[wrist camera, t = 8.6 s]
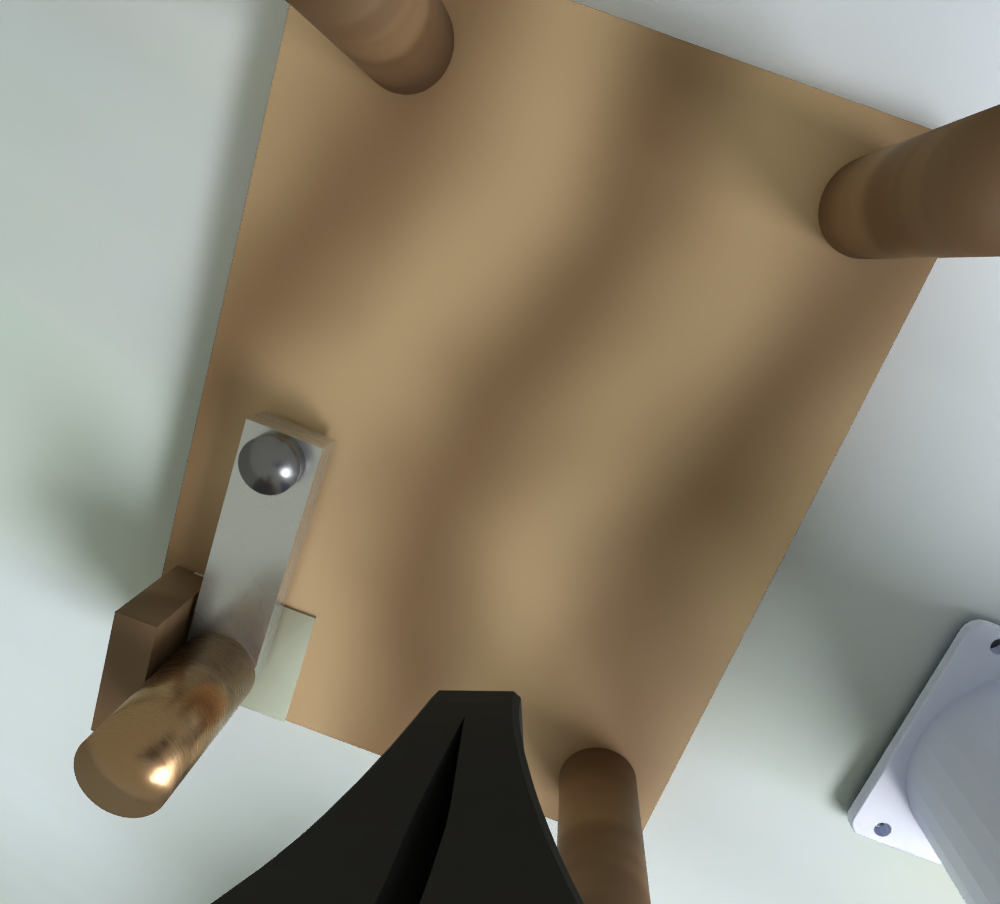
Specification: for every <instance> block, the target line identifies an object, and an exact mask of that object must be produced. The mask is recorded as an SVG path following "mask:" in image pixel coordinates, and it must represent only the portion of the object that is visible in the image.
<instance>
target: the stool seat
mask: <svg viewBox="0 0 1000 904" xmlns="http://www.w3.org/2000/svg"><path fill="white" fill-rule="evenodd" d="M286 1H287V2H288V3H289V4H290V5H289V10H288V14H287V19H286V23H285V27H284V32H283V36H282V41H281V45H280V50H279V54H278V59H277V63H276V68H275V72H274V77H273V81H272V86H271V90H270V95H269V99H268V104H267V108H266V112H265V117H264V121H263V126H262V130H261V135H260V139H259V144H258V148H257V153H256V157H255V162H254V166H253V171H252V175H251V180H250V184H249V188H248V193H247V197H246V202H245V206H244V211H243V215H242V220H241V224H240V229H239V233H238V238H237V242H236V247H235V251H234V256H233V260H232V264H231V269H230V273H229V278H228V282H227V287H226V291H225V296H224V300H223V305H222V309H221V314H220V318H219V323H218V327H217V332H216V336H215V340H214V345H213V349H212V354H211V358H210V363H209V367H208V372H207V376H206V381H205V385H204V390H203V394H202V399H201V403H200V408H199V412H198V417H197V421H196V425H195V430H194V434H193V439H192V443H191V448H190V452H189V457H188V461H187V466H186V470H185V475H184V479H183V484H182V488H181V493H180V497H179V501H178V506H177V510H176V515H175V519H174V524H173V528H172V533H171V537H170V542H169V546H168V551H167V555H166V560H165V564H164V569H163V573H162V577H161V578H160V579H158V580H157V581H156V582H154V583H153V584H152V585H150V586H149V587H148V588H146V589H145V590H144V591H142V592H141V593H140V594H138V595H137V596H136V597H134V598H133V599H132V600H130V601H129V602H128V603H126V604H125V605H124V606H122V607H121V608H120V609H118V610H117V611H116V612H115V615H114V620H113V625H112V630H111V635H110V640H109V645H108V649H107V654H106V659H105V664H104V669H103V674H102V679H101V684H100V688H99V693H98V698H97V703H96V708H95V713H94V718H93V723H92V727H91V730H92V731H95V730H96V729H97V728H98V727H99V726H100V725H101V724H102V723H103V722H104V721H105V720H106V719H108V718H109V717H110V716H111V715H112V714H113V713H114V712H115V711H116V710H117V709H118V708H119V707H120V706H121V705H122V704H123V703H124V702H125V701H126V700H127V699H128V698H129V697H130V696H131V695H132V694H133V693H134V692H135V691H137V690H138V689H139V688H140V687H141V686H142V685H143V684H144V683H145V682H146V681H147V680H148V679H149V678H150V677H151V676H152V675H153V674H154V673H155V672H156V671H157V670H158V669H159V668H160V667H161V666H162V665H163V664H164V663H166V662H167V661H168V660H169V659H170V658H171V657H172V656H173V655H174V654H175V653H176V652H177V651H178V650H179V649H180V648H181V647H182V646H183V645H184V644H185V643H186V641H187V637H188V633H189V630H190V626H191V622H192V619H193V615H194V611H195V607H196V604H197V600H198V596H199V592H200V589H201V585H202V581H203V578H204V574H205V570H206V566H207V563H208V559H209V555H210V552H211V548H212V544H213V540H214V537H215V533H216V529H217V525H218V522H219V518H220V514H221V511H222V507H223V503H224V499H225V496H226V492H227V488H228V484H229V481H230V477H231V473H232V470H233V466H234V462H235V458H236V455H237V451H238V447H239V443H240V440H241V436H242V432H243V429H244V425H245V421H246V419H247V418H249V417H251V416H253V415H255V414H257V413H259V412H262V411H264V412H266V413H269V414H271V415H274V416H276V417H279V418H281V419H284V420H287V421H289V422H292V423H294V424H297V425H299V426H302V427H305V428H307V429H310V430H312V431H315V432H317V433H320V434H323V435H325V436H328V437H330V438H333V439H335V442H334V445H333V448H332V452H331V455H330V458H329V461H328V464H327V468H326V471H325V474H324V477H323V480H322V484H321V487H320V490H319V493H318V497H317V500H316V503H315V506H314V509H313V513H312V516H311V519H310V522H309V525H308V529H307V532H306V535H305V538H304V542H303V545H302V548H301V551H300V554H299V558H298V561H297V564H296V567H295V570H294V574H293V577H292V580H291V583H290V587H289V590H288V593H287V596H286V599H285V603H284V606H283V609H282V612H281V616H280V619H279V622H278V625H277V628H276V632H275V635H274V638H273V641H272V644H271V648H270V651H269V654H268V657H267V661H266V664H265V667H264V670H263V671H262V672H261V673H260V675H259V676H258V677H257V679H256V680H255V682H254V685H253V688H252V689H251V691H250V693H249V694H248V695H247V696H246V698H245V699H244V700H243V702H242V703H241V704H240V706H243V707H245V708H248V709H251V710H254V711H256V712H259V713H262V714H264V715H267V716H270V717H272V718H275V719H278V720H280V721H283V722H284V721H285V720H287V721H290V722H292V723H295V724H298V725H300V726H303V727H306V728H308V729H311V730H314V731H316V732H319V733H322V734H324V735H327V736H330V737H332V738H335V739H338V740H340V741H343V742H346V743H349V744H351V745H354V746H357V747H359V748H362V749H365V750H367V751H370V752H373V753H375V754H378V755H381V756H382V755H383V754H384V752H385V751H386V750H387V749H388V748H389V747H390V746H391V745H392V744H393V743H394V741H395V740H396V739H397V738H398V737H399V736H400V734H401V733H402V732H403V731H404V730H405V729H406V727H407V726H408V725H409V724H410V723H411V722H412V720H413V719H414V718H415V717H416V716H417V714H418V713H419V712H420V711H421V710H422V708H423V707H424V706H425V705H426V704H427V702H428V701H429V700H430V699H431V698H432V696H433V695H435V694H436V693H437V692H438V691H439V690H464V691H514V692H515V693H516V694H517V695H518V696H520V697H521V705H522V723H523V741H524V751H525V755H526V759H527V763H528V767H529V770H530V774H531V777H532V781H533V784H534V788H535V791H536V794H537V797H538V800H539V803H540V805H541V808H542V811H543V814H544V816H545V817H547V818H550V819H552V820H555V821H558V835H557V849H558V851H559V853H560V856H561V858H562V860H563V862H564V864H565V866H566V868H567V870H568V873H569V875H570V877H571V879H572V881H573V883H574V885H575V887H576V889H577V891H578V893H579V895H580V897H581V899H582V901H583V902H584V904H651V903H650V894H649V886H648V877H647V868H646V860H645V851H644V842H643V834H642V831H643V830H644V828H645V826H646V824H647V822H648V820H649V818H650V816H651V814H652V812H653V810H654V808H655V806H656V804H657V802H658V800H659V798H660V796H661V794H662V793H663V791H664V789H665V787H666V785H667V783H668V781H669V779H670V777H671V775H672V773H673V771H674V769H675V767H676V765H677V763H678V761H679V759H680V758H681V756H682V754H683V752H684V750H685V748H686V746H687V744H688V742H689V740H690V738H691V736H692V734H693V732H694V730H695V728H696V726H697V724H698V722H699V721H700V719H701V717H702V715H703V713H704V711H705V709H706V707H707V705H708V703H709V701H710V699H711V697H712V695H713V693H714V691H715V689H716V687H717V685H718V684H719V682H720V680H721V678H722V676H723V674H724V672H725V670H726V668H727V666H728V664H729V662H730V660H731V658H732V656H733V654H734V652H735V650H736V649H737V647H738V645H739V643H740V641H741V639H742V637H743V635H744V633H745V631H746V629H747V627H748V625H749V623H750V621H751V619H752V617H753V615H754V613H755V612H756V610H757V608H758V606H759V604H760V602H761V600H762V598H763V596H764V594H765V592H766V590H767V588H768V586H769V584H770V582H771V580H772V578H773V576H774V575H775V573H776V571H777V569H778V567H779V565H780V563H781V561H782V559H783V557H784V555H785V553H786V551H787V549H788V547H789V545H790V543H791V541H792V540H793V538H794V536H795V534H796V532H797V530H798V528H799V526H800V524H801V522H802V520H803V518H804V516H805V514H806V512H807V510H808V508H809V506H810V504H811V503H812V501H813V499H814V497H815V495H816V493H817V491H818V489H819V487H820V485H821V483H822V481H823V479H824V477H825V475H826V473H827V471H828V469H829V467H830V466H831V464H832V462H833V460H834V458H835V456H836V454H837V452H838V450H839V448H840V446H841V444H842V442H843V440H844V438H845V436H846V434H847V432H848V431H849V429H850V427H851V425H852V423H853V421H854V419H855V417H856V415H857V413H858V411H859V409H860V407H861V405H862V403H863V401H864V399H865V397H866V395H867V394H868V392H869V390H870V388H871V386H872V384H873V382H874V380H875V378H876V376H877V374H878V372H879V370H880V368H881V366H882V364H883V362H884V360H885V358H886V357H887V355H888V353H889V351H890V349H891V347H892V345H893V343H894V341H895V339H896V337H897V335H898V333H899V331H900V329H901V327H902V325H903V323H904V322H905V320H906V318H907V316H908V314H909V312H910V310H911V308H912V306H913V304H914V302H915V300H916V298H917V296H918V294H919V292H920V290H921V288H922V286H923V285H924V283H925V281H926V279H927V277H928V275H929V273H930V271H931V269H932V267H933V265H934V263H935V261H936V259H937V258H947V257H995V256H1000V105H997V106H994V107H992V108H989V109H986V110H984V111H981V112H978V113H976V114H973V115H971V116H968V117H965V118H963V119H960V120H957V121H955V122H952V123H950V124H947V125H944V126H942V127H939V128H936V129H934V130H931V129H928V128H926V127H923V126H920V125H917V124H915V123H912V122H909V121H906V120H903V119H901V118H898V117H895V116H892V115H889V114H887V113H884V112H881V111H878V110H875V109H873V108H870V107H867V106H864V105H861V104H859V103H856V102H853V101H850V100H847V99H845V98H842V97H839V96H836V95H834V94H831V93H828V92H825V91H822V90H820V89H817V88H814V87H811V86H808V85H806V84H803V83H800V82H797V81H794V80H792V79H789V78H786V77H783V76H780V75H778V74H775V73H772V72H769V71H766V70H764V69H761V68H758V67H755V66H753V65H750V64H747V63H744V62H741V61H739V60H736V59H733V58H730V57H727V56H725V55H722V54H719V53H716V52H713V51H711V50H708V49H705V48H702V47H699V46H697V45H694V44H691V43H688V42H685V41H683V40H680V39H677V38H674V37H671V36H669V35H666V34H663V33H660V32H658V31H655V30H652V29H649V28H646V27H644V26H641V25H638V24H635V23H632V22H630V21H627V20H624V19H621V18H618V17H616V16H613V15H610V14H607V13H604V12H602V11H599V10H596V9H593V8H590V7H588V6H585V5H582V4H579V3H577V2H574V1H571V0H286Z"/></svg>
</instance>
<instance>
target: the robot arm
mask: <svg viewBox="0 0 1000 904" xmlns="http://www.w3.org/2000/svg"><path fill="white" fill-rule="evenodd" d="M997 639H1000V625H997V624H994V623H991V622H989V621H986V620H980V619H977V620H972V621H970V622H968V623H966V624H965V625H964V626H963V627H962V628H961V629H960V631H959V632H958V634H957V636H956V637H955V639H954V640H953V642H952V644H951V645H950V647H949V649H948V650H947V652H946V653H945V655H944V657H943V658H942V660H941V661H940V663H939V665H938V666H937V668H936V670H935V671H934V673H933V674H932V676H931V678H930V679H929V681H928V683H927V684H926V686H925V687H924V689H923V691H922V692H921V694H920V695H919V697H918V699H917V700H916V702H915V704H914V705H913V707H912V708H911V710H910V712H909V713H908V715H907V717H906V718H905V720H904V721H903V723H902V725H901V726H900V728H899V729H898V731H897V733H896V734H895V736H894V738H893V739H892V741H891V742H890V744H889V746H888V747H887V749H886V750H885V752H884V754H883V755H882V757H881V759H880V760H879V762H878V763H877V765H876V767H875V768H874V770H873V772H872V773H871V775H870V776H869V778H868V780H867V781H866V783H865V784H864V786H863V788H862V789H861V791H860V793H859V794H858V796H857V797H856V799H855V801H854V802H853V804H852V806H851V807H850V809H849V811H848V813H847V819H848V822H849V824H850V826H851V828H852V829H853V830H854V832H856V833H858V834H859V835H862V836H864V837H867V838H870V839H872V840H875V841H878V842H881V843H883V844H886V845H889V846H891V847H894V848H897V849H899V850H902V851H905V852H908V853H910V854H913V855H916V856H918V857H921V858H924V859H926V860H929V861H932V862H934V863H937V864H940V865H943V866H944V868H945V870H946V871H947V873H948V875H949V876H950V878H951V880H952V881H953V883H954V884H955V886H956V888H957V889H958V891H959V893H960V894H961V896H962V898H963V899H964V901H965V902H966V904H1000V644H999V645H998V646H997V647H994V648H990V646H991V643H993V642H994V641H995V640H997ZM879 823H885V824H884V825H882V826H879V827H875V826H876V825H877V824H879ZM211 904H584V902H583V901H582V899H581V897H580V895H579V893H578V891H577V889H576V887H575V885H574V883H573V881H572V879H571V877H570V875H569V873H568V870H567V868H566V866H565V864H564V862H563V860H562V858H561V856H560V853H559V851H558V849H557V846H556V844H555V842H554V839H553V837H552V834H551V832H550V829H549V827H548V824H547V822H546V819H545V816H544V814H543V811H542V808H541V805H540V803H539V800H538V797H537V794H536V791H535V788H534V784H533V781H532V777H531V774H530V770H529V767H528V763H527V759H526V755H525V751H524V741H523V723H522V705H521V697H520V696H518V695H517V694H516V693H515V692H514V691H464V690H439V691H438V692H437V693H436V694H435V695H433V696H432V698H431V699H430V700H429V701H428V702H427V704H426V705H425V706H424V707H423V708H422V710H421V711H420V712H419V713H418V714H417V716H416V717H415V718H414V719H413V720H412V722H411V723H410V724H409V725H408V726H407V727H406V729H405V730H404V731H403V732H402V733H401V734H400V736H399V737H398V738H397V739H396V740H395V741H394V743H393V744H392V745H391V746H390V747H389V748H388V749H387V750H386V751H385V752H384V754H383V755H382V756H381V757H380V758H379V759H378V760H377V761H376V762H375V763H374V765H373V766H372V767H371V768H370V769H369V770H368V771H367V772H366V773H365V774H364V775H363V776H362V778H361V779H360V780H359V781H358V782H357V783H356V784H355V785H354V786H353V787H352V788H351V789H350V790H349V791H348V792H347V793H345V794H344V795H343V796H342V797H341V798H340V799H339V800H338V801H337V802H336V803H335V804H334V805H333V806H332V807H331V808H330V809H329V810H328V811H327V812H326V813H325V814H324V815H323V816H322V817H321V818H320V819H319V820H318V821H317V822H315V823H314V824H313V825H312V826H311V827H310V828H309V829H308V830H307V831H306V832H304V833H303V834H302V835H301V836H300V837H299V838H297V839H296V840H295V841H294V842H293V843H291V844H290V845H289V846H288V847H286V848H285V849H284V850H283V851H282V852H280V853H279V854H278V855H277V856H276V857H274V858H273V859H272V860H271V861H269V862H268V863H267V864H265V865H264V866H263V867H262V868H260V869H259V870H257V871H256V872H255V873H253V874H252V875H250V876H249V877H248V878H246V879H245V880H243V881H242V882H241V883H239V884H238V885H236V886H235V887H234V888H232V889H231V890H229V891H228V892H227V893H225V894H224V895H223V896H221V897H220V898H218V899H217V900H216V901H214V902H213V903H211Z"/></svg>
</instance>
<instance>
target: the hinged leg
mask: <svg viewBox="0 0 1000 904" xmlns="http://www.w3.org/2000/svg"><path fill="white" fill-rule="evenodd" d="M334 442H335V439H333V438H330V437H328V436H325V435H323V434H320V433H317V432H315V431H312V430H310V429H307V428H305V427H302V426H299V425H297V424H294V423H292V422H289V421H287V420H284V419H281V418H279V417H276V416H274V415H271V414H269V413H266V412H264V411H262V412H259V413H257V414H255V415H253V416H251V417H249V418H247V419H246V421H245V425H244V429H243V432H242V436H241V440H240V443H239V447H238V451H237V455H236V458H235V462H234V466H233V470H232V473H231V477H230V481H229V484H228V488H227V492H226V496H225V499H224V503H223V507H222V511H221V514H220V518H219V522H218V525H217V529H216V533H215V537H214V540H213V544H212V548H211V552H210V555H209V559H208V563H207V566H206V570H205V574H204V578H203V581H202V585H201V589H200V592H199V596H198V600H197V604H196V607H195V611H194V615H193V619H192V622H191V626H190V630H189V633H188V637H187V641H186V643H185V644H184V645H183V646H182V647H181V648H180V649H179V650H178V651H177V652H176V653H175V654H174V655H173V656H172V657H171V658H170V659H169V660H168V661H167V662H166V663H164V664H163V665H162V666H161V667H160V668H159V669H158V670H157V671H156V672H155V673H154V674H153V675H152V676H151V677H150V678H149V679H148V680H147V681H146V682H145V683H144V684H143V685H142V686H141V687H140V688H139V689H138V690H137V691H135V692H134V693H133V694H132V695H131V696H130V697H129V698H128V699H127V700H126V701H125V702H124V703H123V704H122V705H121V706H120V707H119V708H118V709H117V710H116V711H115V712H114V713H113V714H112V715H111V716H110V717H109V718H108V719H106V720H105V721H104V722H103V723H102V724H101V725H100V726H99V727H98V728H97V729H96V730H95V731H94V732H93V733H92V734H91V735H90V736H89V737H88V738H87V739H86V740H85V741H84V742H83V743H82V744H81V745H80V746H79V748H78V750H77V752H76V754H75V758H74V772H75V776H76V779H77V781H78V784H79V786H80V787H81V789H82V790H83V792H84V793H85V794H86V796H87V797H88V798H89V799H90V800H91V801H92V802H93V803H95V804H96V805H97V806H99V807H100V808H102V809H103V810H105V811H107V812H109V813H112V814H114V815H117V816H121V817H127V818H139V817H145V816H148V815H151V814H153V813H154V812H156V811H158V810H159V809H160V808H161V807H162V806H163V805H164V803H165V802H166V801H167V800H168V798H169V797H170V796H171V794H172V793H173V792H174V790H175V789H176V788H177V787H178V785H179V784H180V783H181V781H182V780H183V779H184V777H185V776H186V775H187V773H188V772H189V771H190V770H191V768H192V767H193V766H194V764H195V763H196V762H197V760H198V759H199V758H200V756H201V755H202V754H203V753H204V751H205V750H206V749H207V747H208V746H209V745H210V743H211V742H212V741H213V740H214V738H215V737H216V736H217V734H218V733H219V732H220V730H221V729H222V728H223V726H224V725H225V724H226V723H227V721H228V720H229V719H230V717H231V716H232V715H233V713H234V712H235V711H236V710H237V708H238V707H239V706H240V704H241V703H242V702H243V700H244V699H245V698H246V696H247V695H248V694H249V693H250V691H251V689H252V688H253V685H254V682H255V680H256V679H257V677H258V676H259V675H260V673H261V672H262V671H263V670H264V667H265V664H266V661H267V657H268V654H269V651H270V648H271V644H272V641H273V638H274V635H275V632H276V628H277V625H278V622H279V619H280V616H281V612H282V609H283V606H284V603H285V599H286V596H287V593H288V590H289V587H290V583H291V580H292V577H293V574H294V570H295V567H296V564H297V561H298V558H299V554H300V551H301V548H302V545H303V542H304V538H305V535H306V532H307V529H308V525H309V522H310V519H311V516H312V513H313V509H314V506H315V503H316V500H317V497H318V493H319V490H320V487H321V484H322V480H323V477H324V474H325V471H326V468H327V464H328V461H329V458H330V455H331V452H332V448H333V445H334Z"/></svg>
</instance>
